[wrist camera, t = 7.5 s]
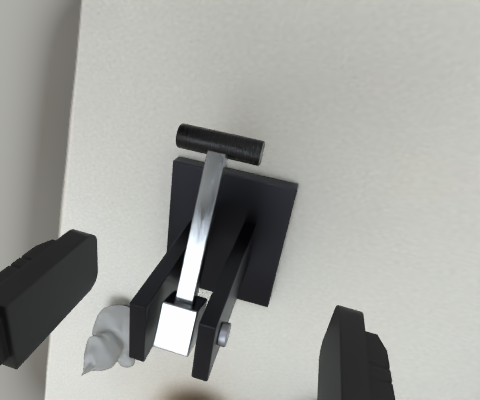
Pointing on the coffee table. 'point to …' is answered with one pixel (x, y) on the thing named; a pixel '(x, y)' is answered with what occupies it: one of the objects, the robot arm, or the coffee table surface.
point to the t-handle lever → (200, 232)
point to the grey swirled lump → (109, 340)
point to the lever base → (216, 256)
